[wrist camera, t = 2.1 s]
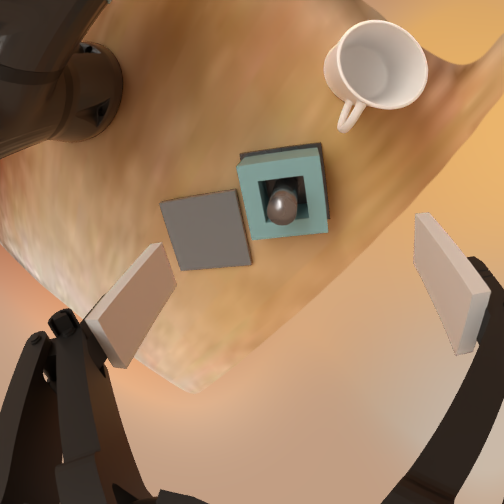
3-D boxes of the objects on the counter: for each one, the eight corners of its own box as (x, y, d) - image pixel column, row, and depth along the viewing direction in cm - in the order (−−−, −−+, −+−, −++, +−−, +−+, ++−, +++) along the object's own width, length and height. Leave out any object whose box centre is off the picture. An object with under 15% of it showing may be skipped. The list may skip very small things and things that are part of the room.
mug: (358, 140, 34) (381, 162, 24) (297, 104, 34) (295, 108, 23) (405, 65, 29) (446, 58, 18) (344, 26, 28) (362, -1, 17)
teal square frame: (244, 157, 37) (236, 166, 33) (317, 147, 35) (319, 155, 31) (257, 223, 41) (251, 240, 37) (325, 215, 39) (328, 232, 35)
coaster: (161, 201, 42) (159, 203, 42) (235, 188, 40) (234, 190, 39) (182, 268, 47) (180, 270, 47) (252, 262, 45) (251, 264, 44)
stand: (240, 153, 38) (222, 171, 30) (320, 142, 35) (325, 157, 28) (255, 225, 42) (243, 259, 34) (329, 217, 40) (335, 250, 32)
